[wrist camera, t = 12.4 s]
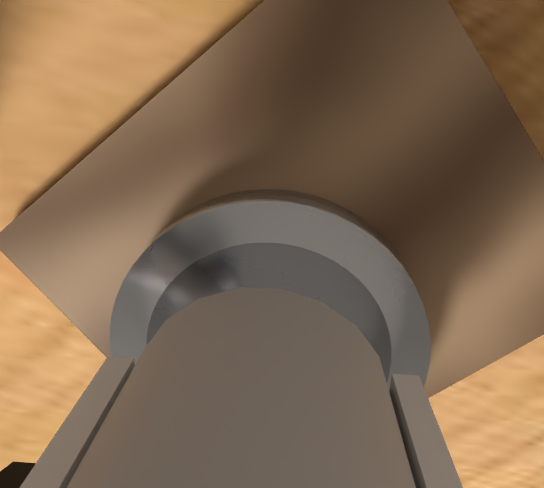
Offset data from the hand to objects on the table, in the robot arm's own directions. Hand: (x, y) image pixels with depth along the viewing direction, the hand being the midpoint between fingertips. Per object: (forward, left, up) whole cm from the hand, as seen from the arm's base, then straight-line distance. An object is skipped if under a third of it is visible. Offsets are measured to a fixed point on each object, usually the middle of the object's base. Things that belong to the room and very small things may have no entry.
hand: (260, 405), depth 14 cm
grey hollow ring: (0, 0, -4) cm, 4 cm away
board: (-1, +3, -6) cm, 6 cm away
